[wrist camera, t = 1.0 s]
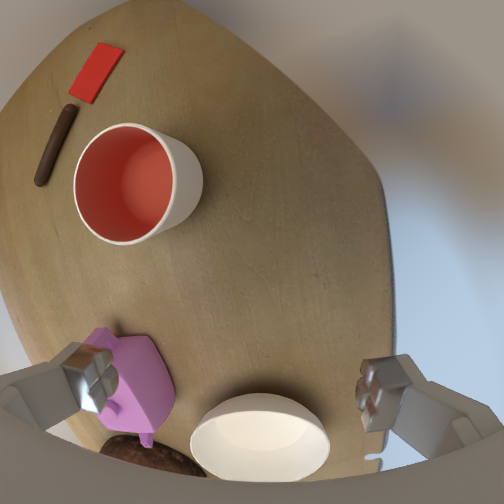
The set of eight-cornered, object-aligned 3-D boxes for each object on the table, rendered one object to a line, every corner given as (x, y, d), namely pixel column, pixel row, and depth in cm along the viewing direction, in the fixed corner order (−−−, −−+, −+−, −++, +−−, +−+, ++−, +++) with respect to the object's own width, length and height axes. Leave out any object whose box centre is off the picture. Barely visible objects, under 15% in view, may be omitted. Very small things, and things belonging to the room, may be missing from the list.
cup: (223, 166, 30) (201, 157, 20) (177, 243, 32) (140, 268, 22) (150, 124, 29) (105, 105, 19) (111, 199, 31) (58, 207, 21)
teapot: (192, 414, 38) (175, 464, 28) (135, 414, 39) (111, 456, 29) (146, 310, 34) (108, 352, 24) (86, 319, 35) (45, 354, 25)
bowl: (326, 367, 34) (336, 404, 27) (320, 449, 38) (324, 482, 31) (188, 373, 36) (174, 408, 29) (211, 452, 40) (204, 483, 33)
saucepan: (227, 502, 45) (222, 539, 34) (143, 495, 47) (131, 525, 37) (173, 422, 39) (153, 471, 28) (77, 415, 41) (51, 449, 31)
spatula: (100, 43, 26) (93, 38, 24) (125, 51, 27) (118, 46, 25) (33, 178, 31) (24, 178, 29) (52, 193, 31) (43, 194, 30)
